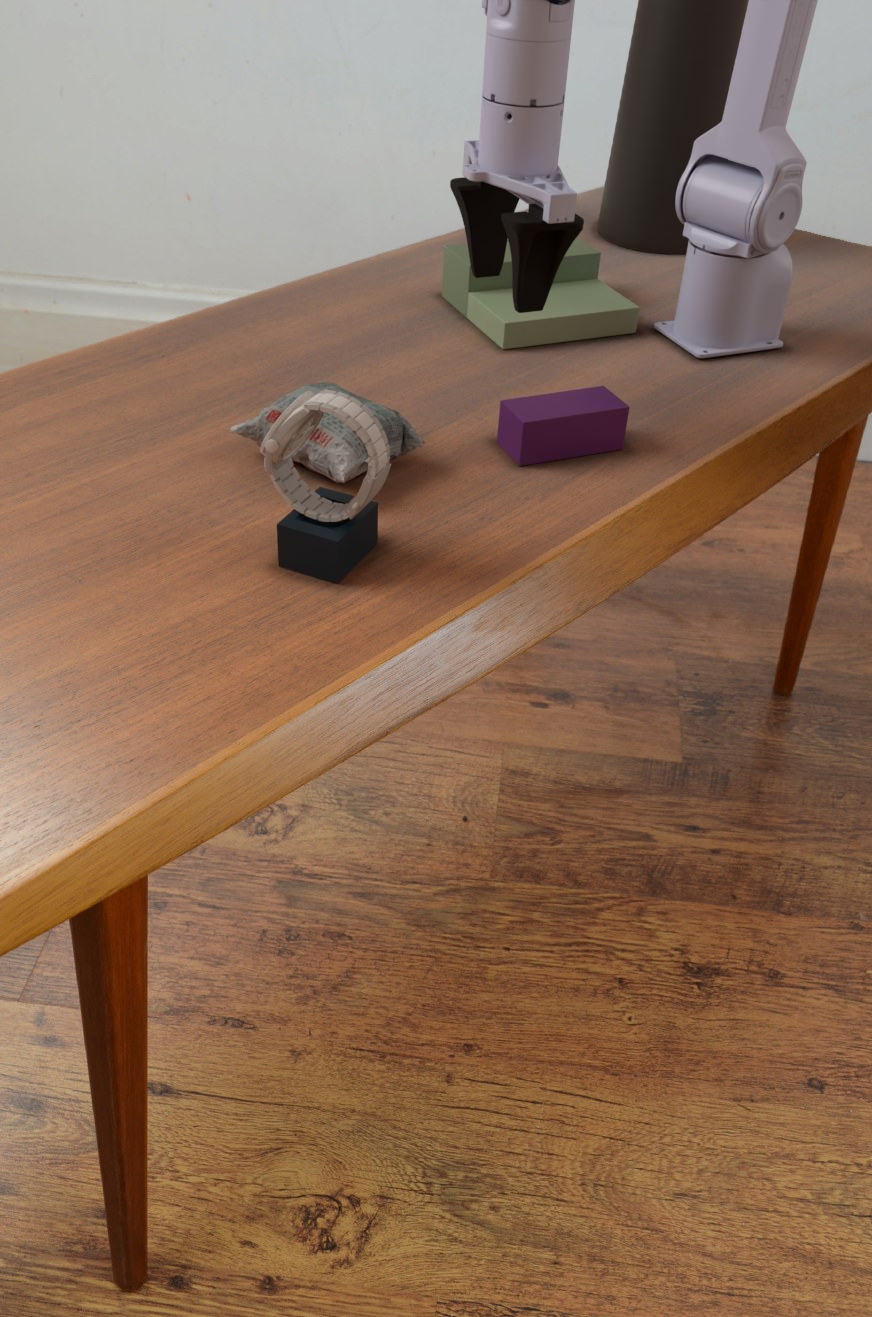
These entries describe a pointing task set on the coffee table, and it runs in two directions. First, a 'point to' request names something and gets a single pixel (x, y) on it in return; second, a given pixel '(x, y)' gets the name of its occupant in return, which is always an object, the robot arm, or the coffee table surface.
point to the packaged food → (335, 435)
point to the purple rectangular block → (562, 425)
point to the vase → (666, 115)
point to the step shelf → (567, 314)
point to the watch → (325, 489)
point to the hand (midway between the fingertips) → (506, 292)
